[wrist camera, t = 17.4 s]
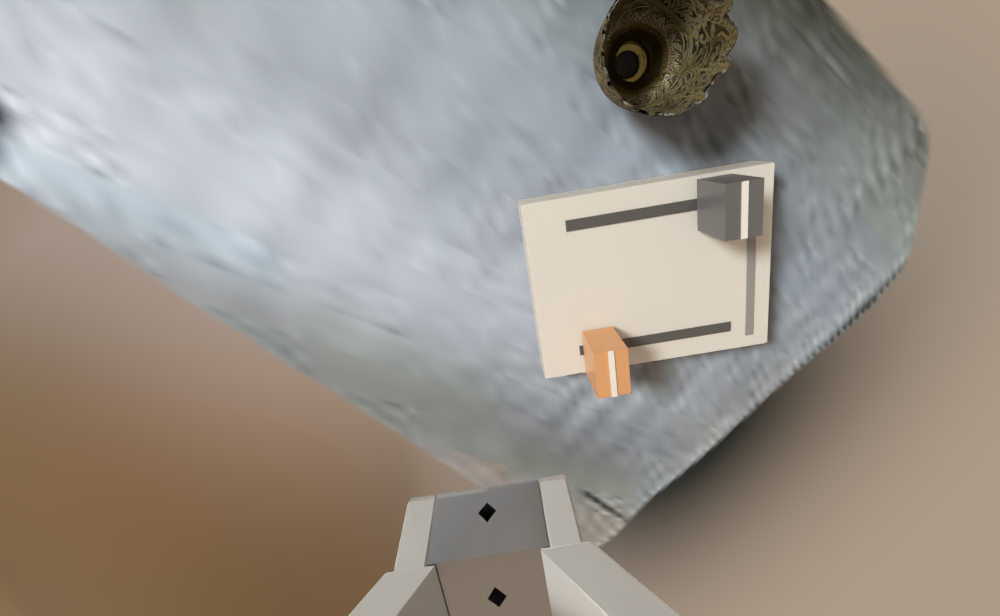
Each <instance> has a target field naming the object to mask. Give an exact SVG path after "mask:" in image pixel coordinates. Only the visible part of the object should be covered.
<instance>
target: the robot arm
mask: <svg viewBox="0 0 1000 616" xmlns="http://www.w3.org/2000/svg"><path fill="white" fill-rule="evenodd" d="M348 616H680V615H678V614H677V613H676V612H675V611H674V610H672V609H671V608H670V607H669V606H668V605H667V604H665V603H664V602H663V601H662V600H661V599H659V598H658V597H657V596H656V595H655V594H653V593H652V592H651V591H650V590H649V589H647V588H646V587H645V586H644V585H643V584H641V583H640V582H639V581H638V580H637V579H635V578H634V577H633V576H632V575H631V574H630V573H628V572H627V571H626V570H625V569H623V568H622V567H621V566H620V565H618V563H616V562H615V561H614V560H613V559H612V558H610V557H609V556H608V555H607V554H606V553H604V552H603V551H602V550H601V549H600V548H599V547H597V546H596V545H595V544H594V543H593V542H591V541H589V542H583V541H582V537H581V534H580V530H579V526H578V522H577V518H576V514H575V510H574V506H573V502H572V498H571V494H570V491H569V487H568V483H567V479H566V477H565V476H564V474H563V475H557V476H552V477H546V478H540V479H539V483H538V480H532V481H526V482H520V483H514V484H508V485H502V486H496V487H489V488H482V489H474V490H467V491H459V492H452V493H444V494H438V495H432V496H425V497H418V498H411V500H410V501H409V503H408V505H407V509H406V514H405V519H404V524H403V529H402V534H401V539H400V544H399V548H398V554H397V559H396V563H395V569H394V572H389V573H385V574H384V575H383V577H382V578H381V579H380V580H379V581H378V582H377V583H376V585H375V586H374V587H373V588H372V589H371V590H370V591H369V593H368V594H367V595H366V596H365V597H364V598H363V600H362V601H361V602H360V603H359V604H358V605H357V606H356V607H355V609H354V610H353V611H352V612H351V613H350V614H349V615H348Z"/></svg>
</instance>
